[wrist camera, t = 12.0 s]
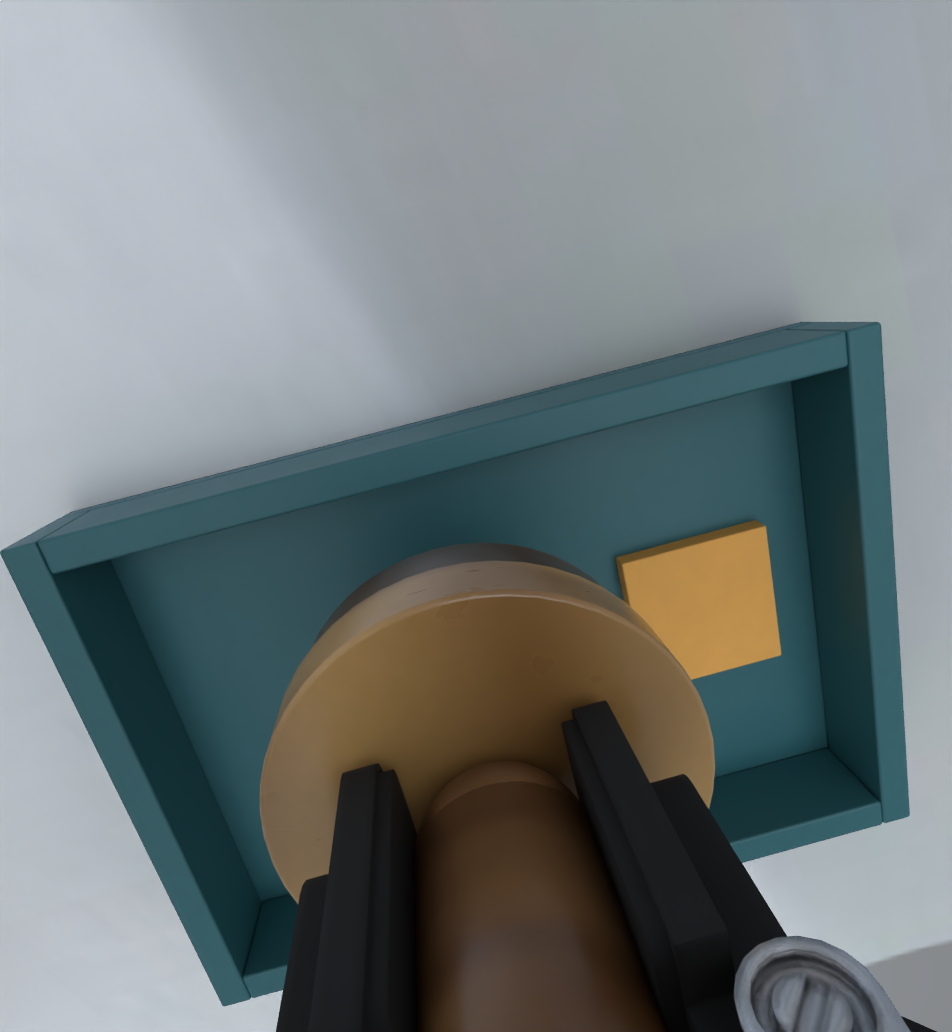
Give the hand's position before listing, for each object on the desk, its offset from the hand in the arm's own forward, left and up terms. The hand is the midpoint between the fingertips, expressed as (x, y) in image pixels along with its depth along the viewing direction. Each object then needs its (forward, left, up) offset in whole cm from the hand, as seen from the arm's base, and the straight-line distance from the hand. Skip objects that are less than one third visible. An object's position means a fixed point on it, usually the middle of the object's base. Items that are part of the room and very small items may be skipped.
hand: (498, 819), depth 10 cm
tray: (+2, -1, -9) cm, 9 cm away
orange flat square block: (+7, +1, -8) cm, 11 cm away
